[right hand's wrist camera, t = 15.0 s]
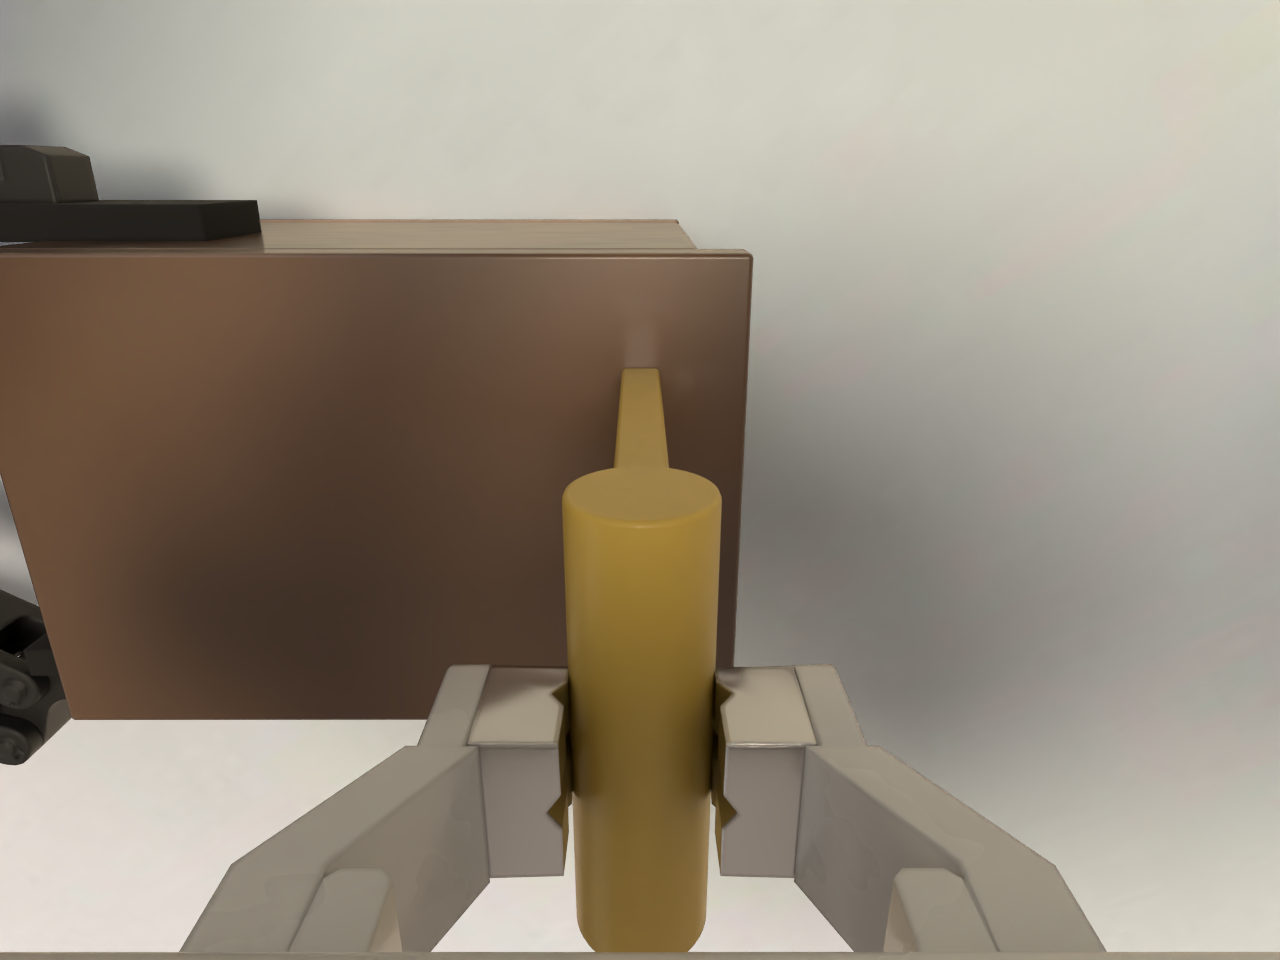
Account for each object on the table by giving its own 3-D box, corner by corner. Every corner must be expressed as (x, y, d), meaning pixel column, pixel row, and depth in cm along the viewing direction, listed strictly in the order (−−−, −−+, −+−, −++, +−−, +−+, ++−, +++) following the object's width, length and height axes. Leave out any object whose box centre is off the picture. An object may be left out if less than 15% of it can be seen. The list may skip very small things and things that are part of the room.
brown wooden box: (676, 219, 25) (699, 247, 16) (672, 523, 28) (687, 693, 19) (223, 219, 25) (-24, 247, 16) (275, 523, 28) (99, 694, 19)
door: (747, 248, 16) (863, 331, 8) (727, 694, 19) (791, 1074, 11) (-25, 248, 16) (-737, 330, 8) (98, 694, 19) (-296, 1075, 11)
